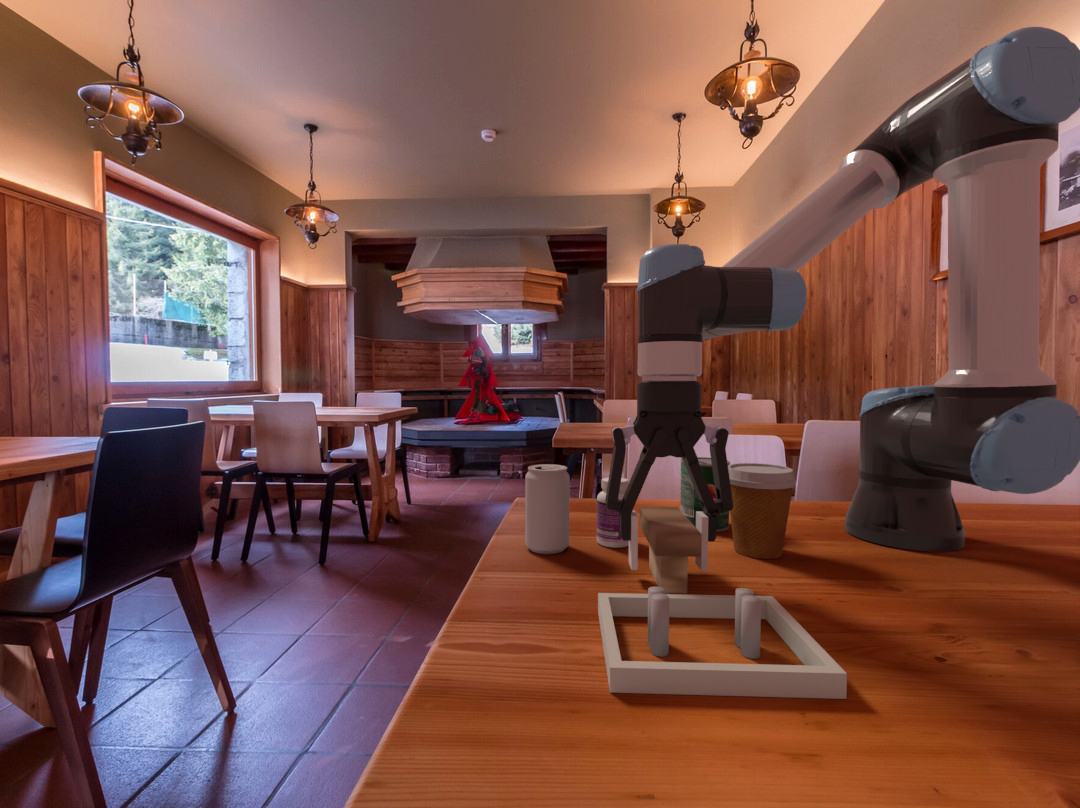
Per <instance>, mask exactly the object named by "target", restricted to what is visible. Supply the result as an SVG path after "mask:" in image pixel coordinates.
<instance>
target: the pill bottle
mask: <svg viewBox="0 0 1080 808" xmlns="http://www.w3.org/2000/svg"><path fill="white" fill-rule="evenodd" d="M608 480H609V476H607V477H604V478H602V479H601V483H600V484H601V485H600V486H601V487H600V488H601V489H602V491H600V492H599V493H598V494H597V496H596V542H597V543H598V544H599V545H601V546H602V547H606V548H613V549H617V548H618V549H619V548H620V549H621V548H626V547H629V541H626V540H623V539H622V537H621V534H620V513H619V512H618V511H615V510H610V509H609V508H608V507H607V504H606V501H605V499H606V492H607V486H608ZM628 484H629V479H628V478H624V477H621V483H620V490H619V496H618V499H620V500H622V498H623V496H624V493H625V491H626V489H627V486H628ZM632 511H634V509H633V510H632Z"/></svg>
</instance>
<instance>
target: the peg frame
mask: <svg viewBox="0 0 1080 808" xmlns="http://www.w3.org/2000/svg"><path fill="white" fill-rule="evenodd" d="M597 614H598V619H599V620H598V621H599V627H600V635H601V641H602V648H603V652H604V653H603V654H604V655H603V656H604V662H605V667H606V669H605V670H606V674H607V676H606V677H607V681H608V687H609V693H610V694H611V693H614V694H615V693H617V694H647V695H648V694H649V695H650V694H654V695H683V696H684V695H685V696H686V695H688V696H725V697H726V696H728V697H758V698H759V697H761V698H762V697H764V698H765V697H766V698H792V699H793V698H797V699H799V698H800V699H827V700H828V699H831V700H832V699H836V700H847V692H848V691H847V687H848V685H847V684H848V681H847V680H848V674H847V672H846V671H845V670H844V669H843V668H842V667H841V665H840V664H839V663H838V662H836V660H835V659H834V658H833V657H832V656H831V655H830V654H829V652H827V651H826V650H825V648H823V647H822V645H820V644H819V643H818V642H817V641H816V640H815V639H814V637H812V636H811V635H810V634H809V632H808V631H807V630H806V629H805V628H803V625H801V624H800V623H799V622H798V621H797V620H796V619H795V618H794V617H793V616H792V615H791V614H790V613H789V612H788V611H787V610H786V609H785V608H784V607H783V606H782V604H780V602H779V601H778V600H777V599H775V597H774V596H773V595H755V591H754V590H752V589H750V588H745V587H740V588H739V587H738V588H736V589H735V594H733V595H731V594H730V595H729V594H728V595H727V594H724V595H723V594H684V593H666V590H665V589H664V588H662V587H658V586H657V585H656V586H649V587H648V588H647V593H629V592H628V593H621V592H620V593H619V592H617V593H615V592H598V593H597ZM614 617H633V618H634V617H635V618H636V617H638V618H641V617H643V618H647V644H648V645H649V646H650V653H651V654H652V655H653V656H656V657H660V658H661V657H667V656H668V655H669V654H670V618H684V619H685V618H686V619H687V618H689V619H727V620H728V619H729V620H730V619H731V620H733V619H734V646H736V647H737V648H739V649H740V654H741V656H743V657H744V658H747V659H751V660H756V659H757V660H758V659H759V658H760V657H761V628H762V627H761V626H762V624H761V622H762V620H765V621H767V623H768V624H769V625H770V626H771V627H772V628H773V630H774V631H775V632H776V633H777V634H778V636H779V637H781V640H783V641H784V643H785V644H786V645H787V646H788V647H789V649H791V651H792V652H793V653H794V655H795V656H796V657H797V658H798V659H799V660H800V662H801V663H802V664H794V665H793V664H770V663H769V664H768V663H767V664H766V663H763V664H762V663H760V664H759V663H727V662H726V663H723V662H722V663H721V662H719V663H718V662H717V663H715V662H683V661H682V662H681V661H680V662H679V661H677V662H676V661H647V660H646V661H640V660H638V661H637V660H622V656H621V652H620V647H619V646H620V645H619V642H618V638H617V631H616V627H615V623H614V619H613V618H614Z"/></svg>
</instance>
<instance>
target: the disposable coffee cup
mask: <svg viewBox="0 0 1080 808" xmlns="http://www.w3.org/2000/svg"><path fill="white" fill-rule="evenodd" d="M728 471H729V478H730V485H731V493H732V500H733V509H732V510H730V511H729V516H730V524H731V530H732V531H731V532H732V539H733V549H734V551H735V552H736V553H738V554H740V555H743V556H745V557H750V558H753V559H761V560H763V559H764V560H765V559H767V560H769V559H777V558H781V557H782V555H783V549H784V544H785V539H786V531H787V525H788V519H789V513H790V508H791V507H790V505H791V500H792V494H793V490H794V489H793V488H794V487H795V483H796V482H797V480H798V479H797V477H795V474H794V470H793V468H790V467H789V466H783V465H776V464H768V463H756V462H754V463H753V462H742V463H741V462H739V463H738V462H737V463H730V465H728Z"/></svg>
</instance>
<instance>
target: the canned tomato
mask: <svg viewBox="0 0 1080 808" xmlns="http://www.w3.org/2000/svg"><path fill="white" fill-rule="evenodd" d="M697 458H698V462H699V465H700V467H701V470H702V472H703V475H704V477H705V480H706V482H707V485H708V487H709V490H710V492H711V494H712V497H713V499H714V500H716V499H717V498H716V491H715V484H714V477H713V469H712V462H711V457H707V456H706V457H704V456H702V457H700V456H699V457H698V456H697ZM727 463H728V465H730V464H731V461H730V460H728V459H727ZM679 503H680V508H679V509H680V511H681V512H682V513H683V514H684V515H685V516H686V517H687V518H688V520H689V521H690V522H691V523H692V524H693V525H694V526H695V527H696V511H702V512H703V508H702V506H701V503H700V501H699V498H698V496H697V493H696V491H695V488H694V486H693V483H692V481H691V478H690V476H689V473H688V471H687V468H686V466H685V464H684V462H683V460H682V458H681V459H680V502H679ZM729 528H730V511H723V512H721V513H720V515H719V516H718V517H717V520H716V533H718V532H719V533H720V532H724V531H728V530H729Z"/></svg>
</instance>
